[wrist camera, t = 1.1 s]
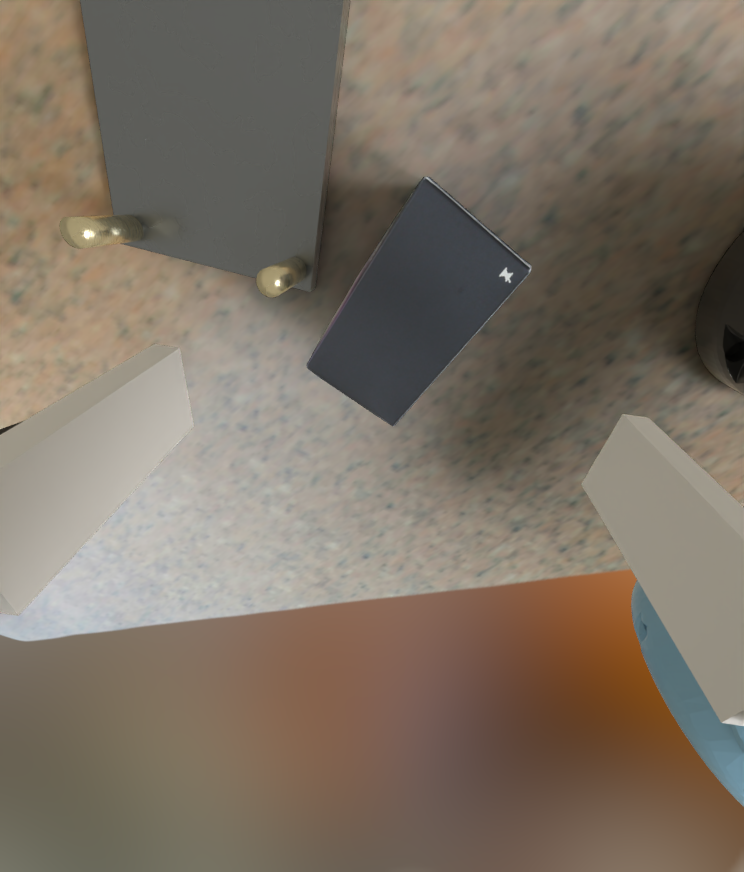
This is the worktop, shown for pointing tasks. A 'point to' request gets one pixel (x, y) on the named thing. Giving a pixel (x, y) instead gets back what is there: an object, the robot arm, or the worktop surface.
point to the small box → (416, 303)
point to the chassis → (217, 130)
